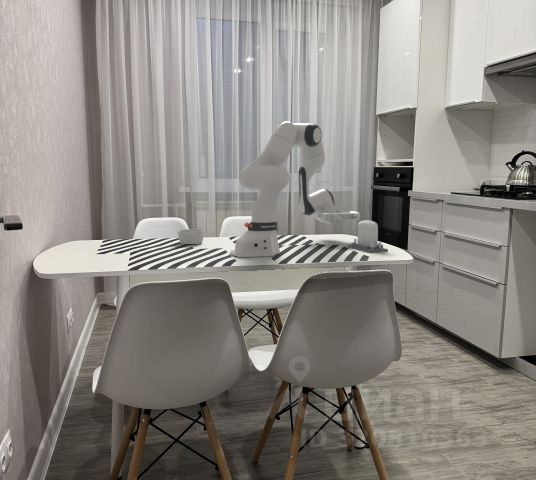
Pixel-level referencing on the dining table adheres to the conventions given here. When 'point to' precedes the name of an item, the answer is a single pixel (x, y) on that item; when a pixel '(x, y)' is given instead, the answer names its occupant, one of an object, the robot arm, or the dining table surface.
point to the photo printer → (368, 233)
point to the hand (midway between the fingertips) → (348, 217)
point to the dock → (366, 248)
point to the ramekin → (191, 236)
